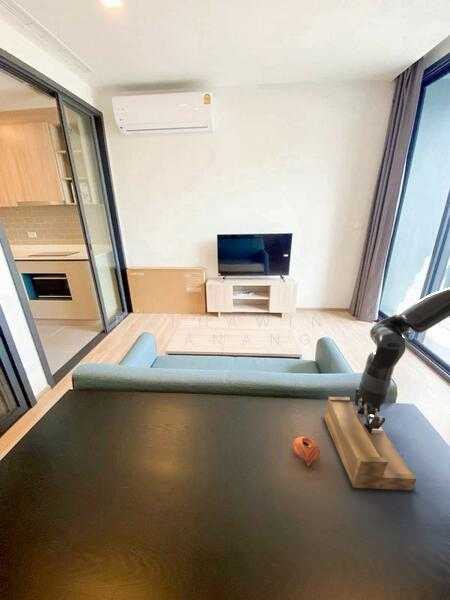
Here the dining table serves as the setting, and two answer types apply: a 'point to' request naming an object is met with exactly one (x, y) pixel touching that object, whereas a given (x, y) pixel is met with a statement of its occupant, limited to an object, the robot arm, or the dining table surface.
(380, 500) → the dining table surface
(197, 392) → the dining table surface
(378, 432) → the block chair shape
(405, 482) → the stepped wooden ledge
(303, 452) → the pot
